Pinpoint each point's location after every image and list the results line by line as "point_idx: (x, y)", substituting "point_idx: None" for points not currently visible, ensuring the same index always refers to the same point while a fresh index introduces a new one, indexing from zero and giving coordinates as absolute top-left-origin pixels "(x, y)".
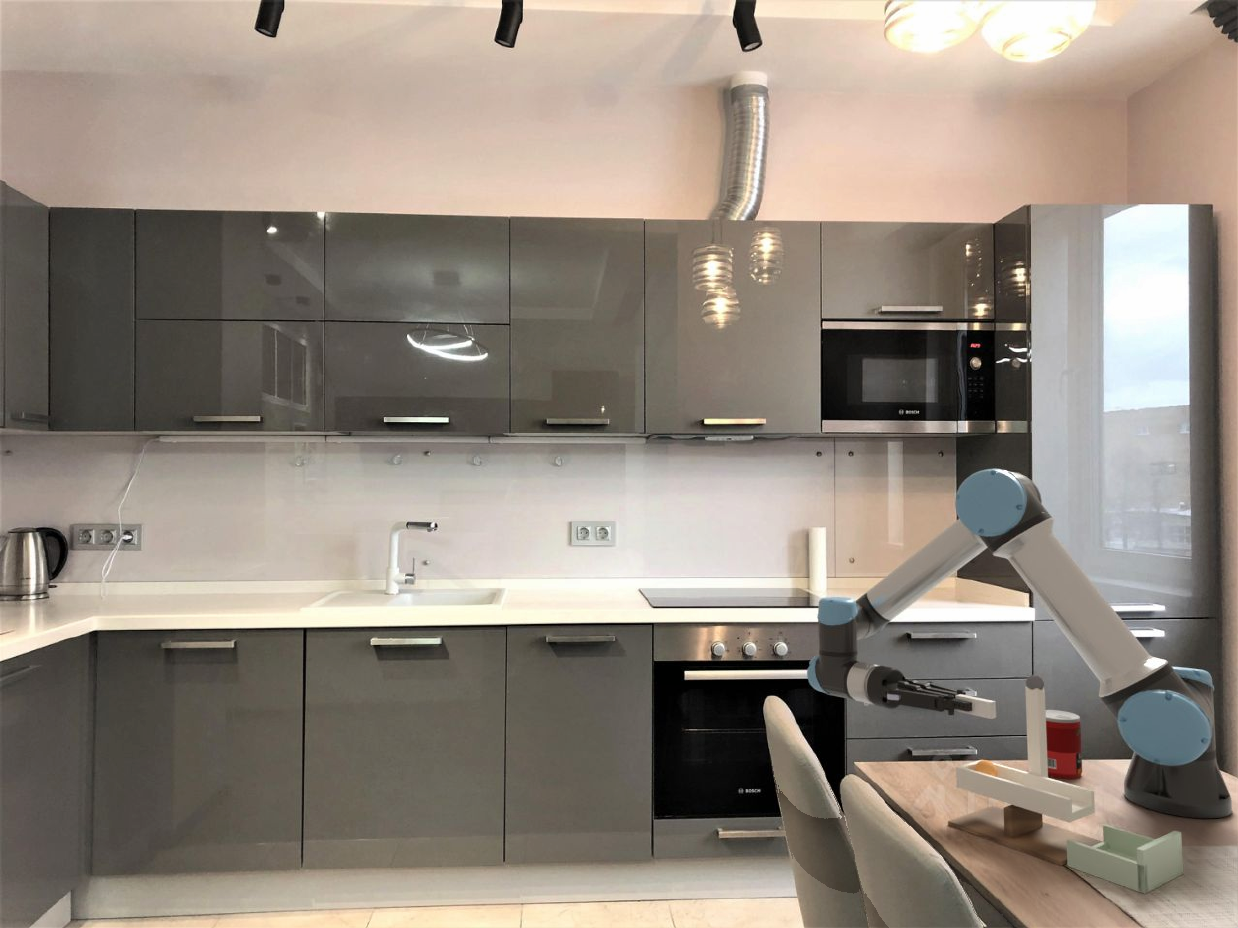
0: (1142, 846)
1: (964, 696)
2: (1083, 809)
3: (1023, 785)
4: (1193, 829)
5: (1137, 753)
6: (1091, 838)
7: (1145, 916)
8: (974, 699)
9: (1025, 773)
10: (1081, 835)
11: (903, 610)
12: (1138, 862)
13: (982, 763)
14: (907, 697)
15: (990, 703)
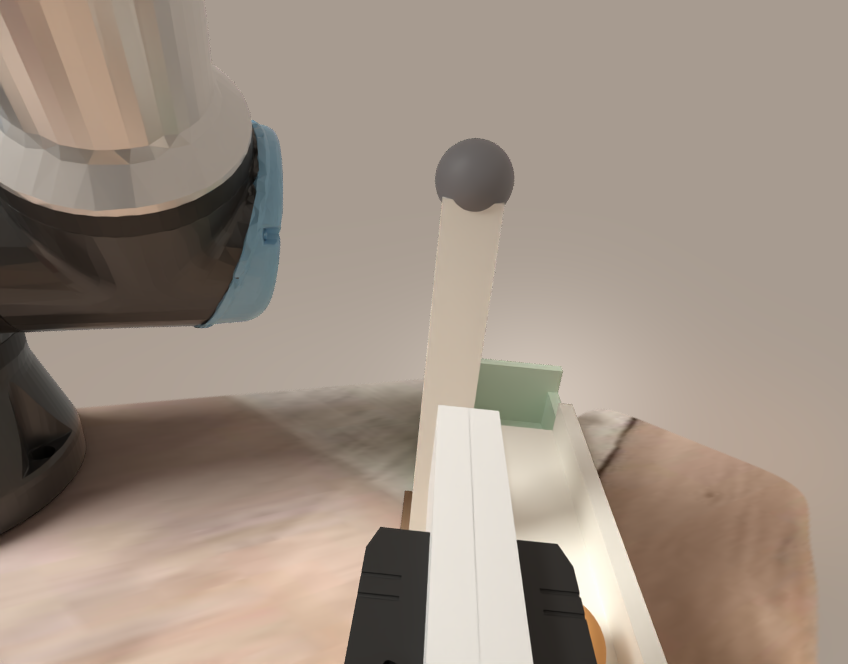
0: (545, 369)
1: (498, 590)
2: (502, 427)
3: (592, 484)
4: (167, 432)
5: (260, 313)
6: (406, 511)
7: (612, 411)
8: (509, 498)
9: None
10: (406, 528)
11: None
12: (557, 389)
13: (593, 622)
14: None
15: (496, 417)
